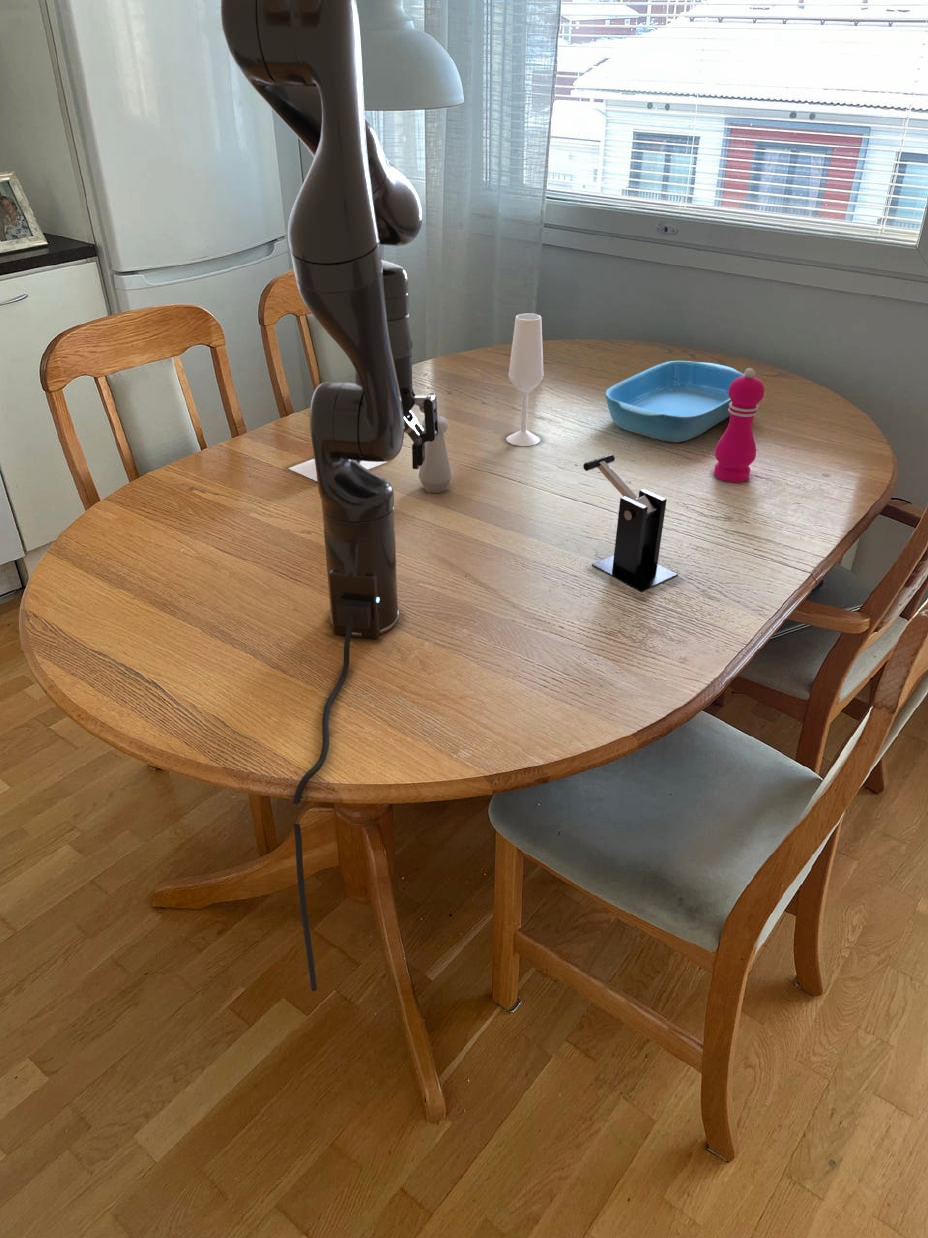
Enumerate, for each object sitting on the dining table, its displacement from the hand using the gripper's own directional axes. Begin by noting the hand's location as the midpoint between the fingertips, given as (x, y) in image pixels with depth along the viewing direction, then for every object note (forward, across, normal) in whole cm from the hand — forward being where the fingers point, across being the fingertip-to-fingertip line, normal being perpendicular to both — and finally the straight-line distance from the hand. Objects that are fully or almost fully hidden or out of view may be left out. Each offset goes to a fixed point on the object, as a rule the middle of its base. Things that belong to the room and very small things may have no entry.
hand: (387, 464), depth 129 cm
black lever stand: (+17, +36, +6) cm, 40 cm away
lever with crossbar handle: (+6, +32, +9) cm, 34 cm away
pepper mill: (+18, +52, +47) cm, 72 cm away
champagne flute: (+18, +12, +56) cm, 60 cm away
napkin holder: (+18, -20, +36) cm, 45 cm away
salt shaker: (+18, 0, +30) cm, 35 cm away
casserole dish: (+18, +42, +75) cm, 88 cm away
